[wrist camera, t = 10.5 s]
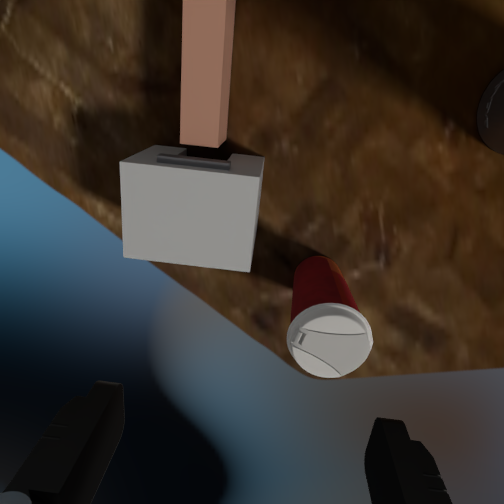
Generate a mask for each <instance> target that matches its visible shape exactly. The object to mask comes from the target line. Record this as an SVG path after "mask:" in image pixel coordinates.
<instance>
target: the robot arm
mask: <svg viewBox="0 0 504 504" xmlns="http://www.w3.org/2000/svg"><path fill="white" fill-rule="evenodd" d="M477 126H478V131H479V134H480V136H481V138H482V140H483V141H484V143H485V144H486V145H487V146H488V147H489V148H491V149H492V150H494V151H495V152H497V153H500V154H503V155H504V70H503V71H501V72H500V73H499V74H498V75H497V76H496V77H495V78H494V79H493V80H492V81H491V82H490V84H489V85H488V87H487V88H486V90H485V92H484V93H483V95H482V98H481V100H480V103H479V107H478V111H477ZM124 417H125V416H124V396H123V385H122V384H120V383H113V382H104V381H97V382H96V383H95V384H94V385H93V387H92V389H91V390H90V392H89V393H88V395H87V397H81V396H76V397H74V398H73V399H72V400H71V401H69V402H68V403H67V404H65V405H64V406H63V407H62V408H61V409H60V410H59V412H58V413H57V415H56V416H55V418H54V419H53V421H52V422H51V425H50V426H48V428H47V429H46V431H45V432H44V434H43V436H42V438H40V440H39V441H38V443H37V444H36V446H35V447H34V448H33V450H32V451H31V453H30V454H29V456H28V457H27V459H26V460H25V461H24V463H23V465H22V466H21V467H20V469H19V470H18V472H17V473H16V475H15V476H14V478H13V479H12V481H11V482H10V483H9V485H8V486H7V488H6V489H5V490H4V491H3V492H2V493H1V494H0V504H91V502H92V500H93V497H94V495H95V493H96V491H97V489H98V487H99V484H100V482H101V480H102V478H103V476H104V473H105V471H106V469H107V467H108V465H109V462H110V460H111V458H112V456H113V454H114V451H115V449H116V447H117V445H118V443H119V440H120V438H121V435H122V431H123V427H124V420H125V418H124ZM364 461H365V462H364V465H365V474H366V479H367V483H368V487H369V493H370V497H371V502H372V504H452V502H451V499H450V497H449V495H448V494H447V489H446V487H445V485H444V482H443V480H442V479H441V477H440V476H441V475H440V472H439V470H438V468H437V465H436V463H435V460H434V458H433V456H432V455H431V454H430V453H429V452H428V450H427V449H426V448H425V447H424V445H423V444H422V443H421V442H420V441H414V440H410V437H409V435H408V432H407V429H406V426H405V424H404V422H403V421H401V420H394V419H386V418H378V417H377V418H376V420H375V422H374V425H373V428H372V431H371V435H370V438H369V441H368V444H367V448H366V451H365V459H364Z"/></svg>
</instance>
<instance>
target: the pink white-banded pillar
mask: <svg viewBox="0 0 504 504" xmlns="http://www.w3.org/2000/svg"><path fill="white" fill-rule="evenodd" d="M235 3H236V0H183V19H182V67H181V115H180V144H187V145H196V146H205V147H213V148H218V147H219V146H220V145H221V144H222V143H223V142H224V141H225V140H226V135H227V121H228V106H229V91H230V77H231V62H232V47H233V33H234V18H235Z"/></svg>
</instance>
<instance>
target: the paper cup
mask: <svg viewBox="0 0 504 504" xmlns="http://www.w3.org/2000/svg"><path fill="white" fill-rule="evenodd" d="M287 345H288V349H289V351H290V353H291V355H292V356H293V358H294V359H295V360H296V361H297V363H298V364H299V365H300V366H301V367H302V368H303V369H304V370H306V371H307V372H309V373H311V374H313V375H316V376H320V377H326V378H334V377H340V376H343V375H345V374H348V373H350V372H352V371H354V370H355V369H357V368H358V367H359V366H360V365H361V364H362V363H363V362H364V361H365V360H366V358H367V357H368V355H369V352H370V350H371V348H372V345H373V338H372V332H371V328H370V325H369V323H368V322H367V320H366V319H365V317H364V316H363V315H362V314H361V313H360V312H359V310H358V307H357V305H356V303H355V301H354V299H353V296H352V294H351V292H350V290H349V288H348V286H347V283H346V281H345V279H344V277H343V275H342V273H341V271H340V269H339V267H338V266H337V264H336V263H335V262H334V261H333V260H331V259H330V258H327V257H324V256H311V257H308V258H306V259H305V260H303V261H302V262H301V263H300V264H299V265H298V266H297V268H296V271H295V275H294V283H293V297H292V310H291V324H290V326H289V329H288V332H287Z"/></svg>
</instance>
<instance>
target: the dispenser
mask: <svg viewBox="0 0 504 504" xmlns="http://www.w3.org/2000/svg"><path fill="white" fill-rule="evenodd" d="M264 158H265V157H260V156H251V155H242V154H232V155H231V156H230V158H229V159H228V160H227V161H225V160H216V159H207V158H198V157H189V156H187V148H179V147H170V146H161V145H154V146H152V147H149V148H147V149H145V150H143V151H141V152H139V153H137V154H135V155H132V156H130V157H128V158H126V159H124V160H122V161H120V184H121V208H122V232H123V255H124V257H125V258H133V259H142V260H150V261H158V262H167V263H175V264H184V265H192V266H200V267H209V268H217V269H225V270H234V271H242V272H250V268H251V262H252V256H253V250H254V244H255V238H256V232H257V222H258V213H259V204H260V195H261V186H262V177H263V168H264Z"/></svg>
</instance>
